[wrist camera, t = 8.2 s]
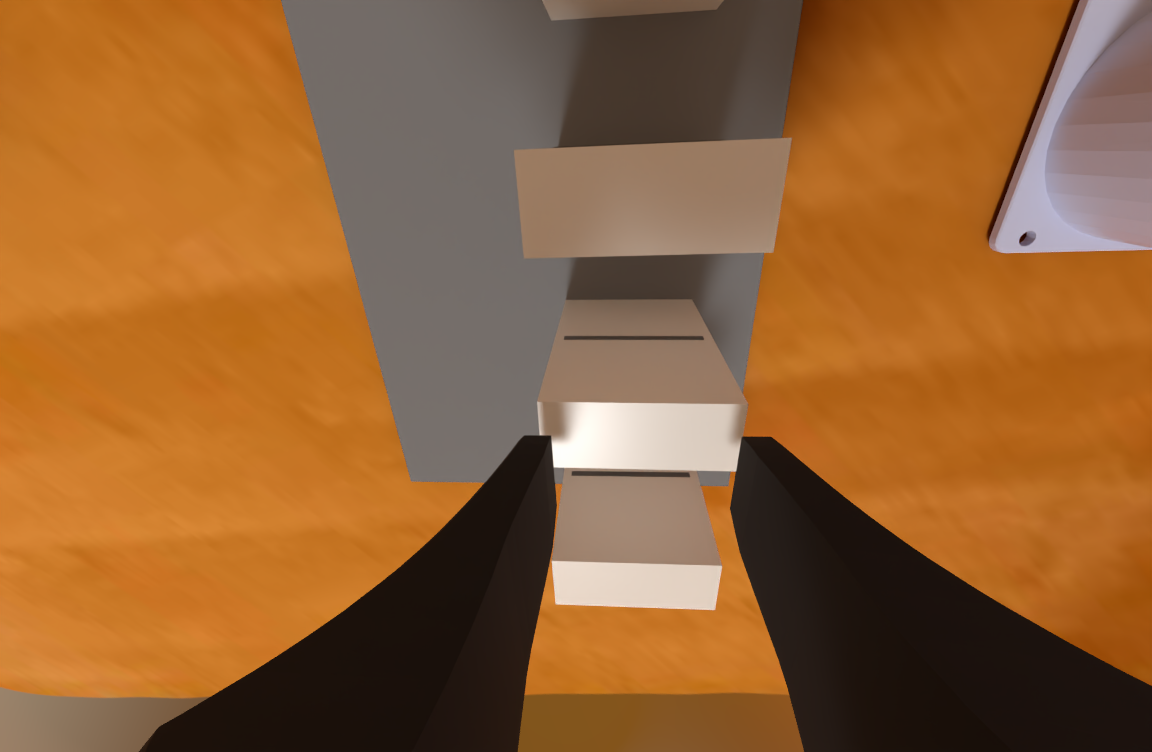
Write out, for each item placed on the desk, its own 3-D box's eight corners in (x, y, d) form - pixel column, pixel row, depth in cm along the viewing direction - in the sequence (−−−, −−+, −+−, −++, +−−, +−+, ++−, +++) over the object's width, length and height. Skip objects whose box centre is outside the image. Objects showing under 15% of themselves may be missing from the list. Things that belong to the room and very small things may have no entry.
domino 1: (557, 146, 15) (513, 148, 8) (705, 140, 15) (792, 135, 8) (561, 209, 16) (523, 260, 9) (699, 205, 16) (773, 253, 9)
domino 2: (565, 299, 18) (537, 400, 11) (692, 298, 17) (748, 403, 10) (567, 346, 19) (542, 468, 12) (687, 346, 18) (735, 472, 11)
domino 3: (571, 415, 20) (551, 560, 13) (682, 416, 20) (722, 565, 13) (573, 452, 21) (555, 604, 14) (679, 453, 21) (714, 610, 14)
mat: (856, -404, 10) (870, -433, 10) (725, 477, 22) (728, 486, 22) (208, -317, 11) (189, -340, 11) (415, 473, 23) (411, 481, 23)
